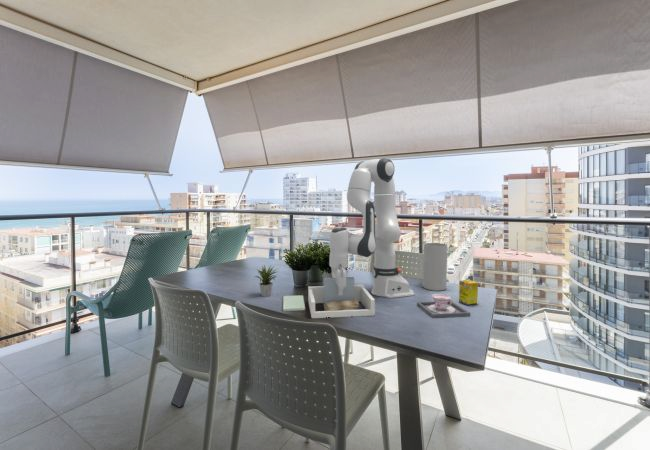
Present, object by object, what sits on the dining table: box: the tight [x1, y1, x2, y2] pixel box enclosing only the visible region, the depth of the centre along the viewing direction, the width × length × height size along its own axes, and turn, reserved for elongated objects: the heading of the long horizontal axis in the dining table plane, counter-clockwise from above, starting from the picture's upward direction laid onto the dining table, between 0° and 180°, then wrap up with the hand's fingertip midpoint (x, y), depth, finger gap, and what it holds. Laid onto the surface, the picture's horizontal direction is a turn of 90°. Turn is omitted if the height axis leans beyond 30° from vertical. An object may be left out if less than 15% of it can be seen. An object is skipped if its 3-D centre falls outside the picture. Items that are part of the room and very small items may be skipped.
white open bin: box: [307, 284, 376, 319], centre depth 153 cm, size 28×22×8 cm
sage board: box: [282, 294, 306, 312], centre depth 160 cm, size 10×20×1 cm, turn 7°
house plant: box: [254, 264, 280, 297], centre depth 173 cm, size 14×14×16 cm
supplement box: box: [458, 279, 479, 307], centre depth 160 cm, size 6×6×11 cm
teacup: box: [427, 293, 456, 314], centre depth 151 cm, size 12×12×6 cm
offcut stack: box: [323, 300, 360, 311], centre depth 148 cm, size 15×6×4 cm, turn 107°
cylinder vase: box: [422, 242, 448, 292], centre depth 186 cm, size 12×12×25 cm
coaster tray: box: [416, 300, 471, 319], centre depth 150 cm, size 17×17×2 cm
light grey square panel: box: [323, 276, 355, 310], centre depth 154 cm, size 14×3×14 cm, turn 97°
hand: (338, 291), depth 154 cm, fingers open, 8 cm apart
